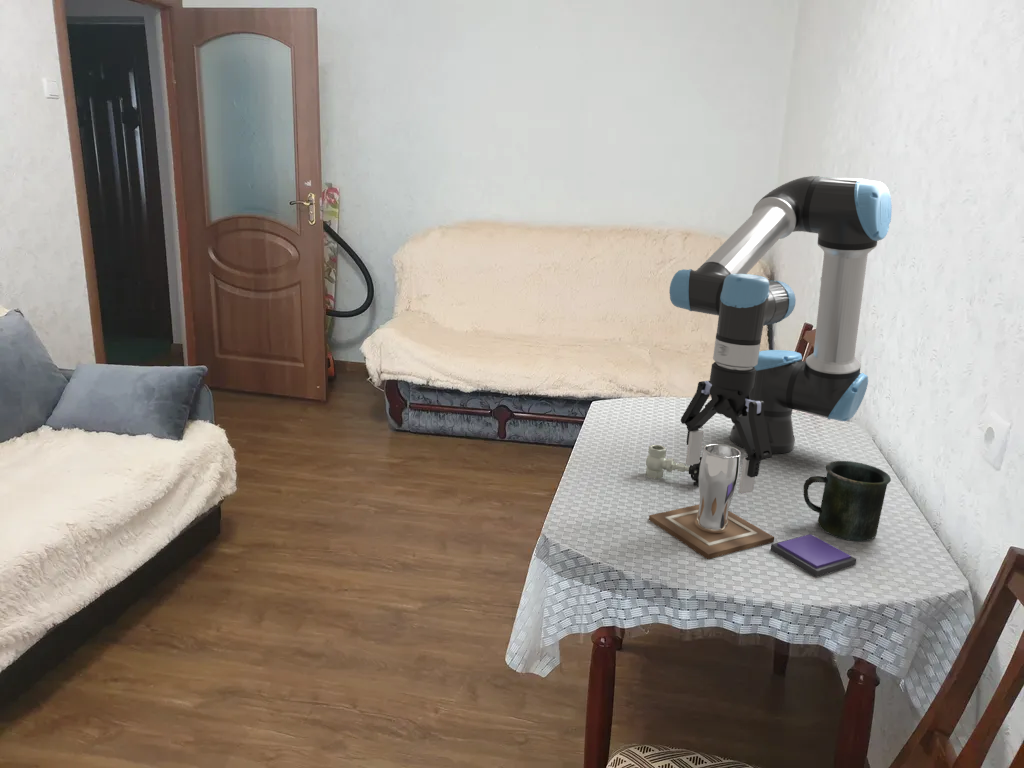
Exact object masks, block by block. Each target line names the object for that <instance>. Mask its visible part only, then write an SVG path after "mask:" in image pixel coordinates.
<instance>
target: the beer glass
mask: <svg viewBox="0 0 1024 768" xmlns="http://www.w3.org/2000/svg"><path fill="white" fill-rule="evenodd" d="M701 457H702V459H701V463H700V469H699V486H698V493H699V494H698V495H699V503H698V505H699V510H698V514H697V516H696V519H695V525H696V527H697V528H699V529H700V530H702V531H705V532H709V533H716V534H718V533H724V532H726V531H727V530H728V511H730V507H731V503H732V502H733V501H732V500H733V497H734V495H735V492H736V490H737V486H738V483H739V479H740V478H739V476H740V469H741V457H742V453H741V450H739V449H738V448H736V447H734V446H732V445H731V446H730V445H727V444H722V443H710V444H706V445H705V446H704V447H703V451H702V454H701Z"/></svg>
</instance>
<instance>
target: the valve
mask: <svg viewBox="0 0 1024 768" xmlns="http://www.w3.org/2000/svg"><path fill="white" fill-rule="evenodd" d="M647 450H648V451H647V452H648V455H647V456H646V459H645V465H646V467H645V475H646V476H648V477H647V478H649V477H650V478H649V479H654V478H655V479H654V480H658V478H659V479H663V478H664V470H665V471H666V472H667V473H673V471H675V470H677V472H679V473H685V472H688V475H690V478H691V480H692V481H693V484H692V485H693V486H695V487H699V469H700V463H701V459H702V456H700V460H699V463H698V464H693V465H687V464H686V463H683V462H682V463H681V462H679V463H677V461H675V458H672V457H669V458H666V455H667V448H666V447H665V446H663V445H660V444H651V445H649V446H648V449H647ZM662 477H663V478H662Z"/></svg>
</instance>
